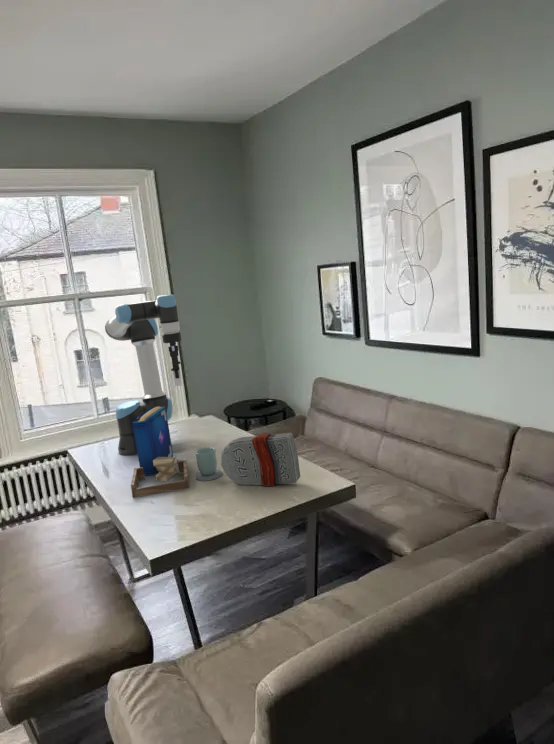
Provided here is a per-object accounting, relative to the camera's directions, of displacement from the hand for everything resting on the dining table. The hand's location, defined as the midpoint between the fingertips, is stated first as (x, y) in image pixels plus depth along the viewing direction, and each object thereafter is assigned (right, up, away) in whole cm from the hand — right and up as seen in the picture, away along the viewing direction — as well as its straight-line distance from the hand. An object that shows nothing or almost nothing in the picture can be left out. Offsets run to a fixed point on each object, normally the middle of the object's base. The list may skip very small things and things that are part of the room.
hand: (178, 382), depth 233 cm
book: (-11, -37, +9) cm, 40 cm away
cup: (+14, -37, -7) cm, 40 cm away
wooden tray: (-5, -40, -10) cm, 42 cm away
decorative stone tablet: (+36, -38, -22) cm, 57 cm away
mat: (+14, -38, -7) cm, 41 cm away
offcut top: (-5, -34, -4) cm, 34 cm away
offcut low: (-4, -39, -3) cm, 39 cm away
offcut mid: (-5, -36, -3) cm, 37 cm away
